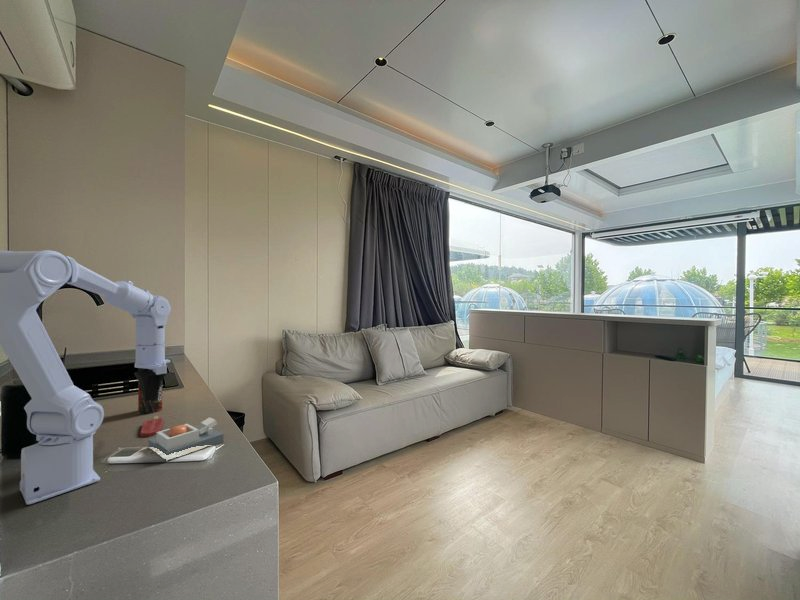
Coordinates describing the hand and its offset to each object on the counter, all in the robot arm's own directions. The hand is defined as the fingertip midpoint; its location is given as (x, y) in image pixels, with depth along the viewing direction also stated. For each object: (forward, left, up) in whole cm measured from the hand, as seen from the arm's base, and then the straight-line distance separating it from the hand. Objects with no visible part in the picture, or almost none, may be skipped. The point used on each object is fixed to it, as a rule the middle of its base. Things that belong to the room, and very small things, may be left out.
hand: (150, 399), depth 81 cm
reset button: (+2, -11, -8) cm, 13 cm away
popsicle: (+4, +11, -11) cm, 16 cm away
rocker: (+8, -10, -7) cm, 15 cm away
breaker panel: (+5, -9, -10) cm, 15 cm away
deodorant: (+8, +26, -11) cm, 29 cm away
